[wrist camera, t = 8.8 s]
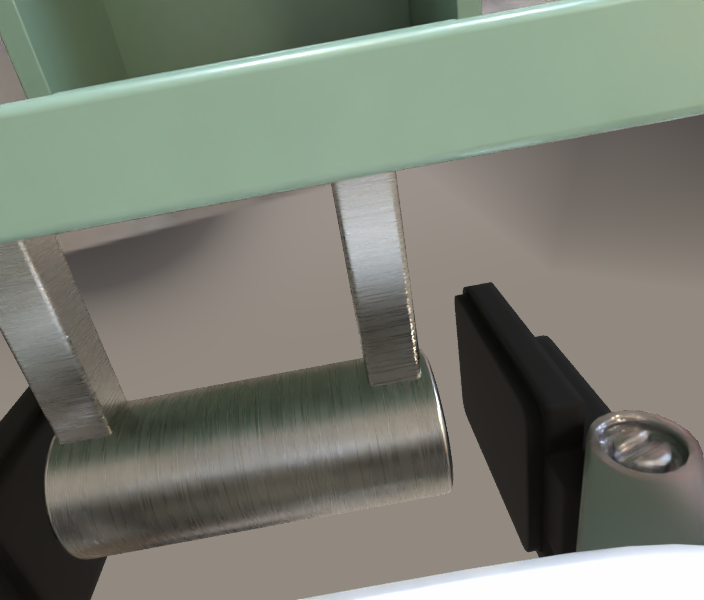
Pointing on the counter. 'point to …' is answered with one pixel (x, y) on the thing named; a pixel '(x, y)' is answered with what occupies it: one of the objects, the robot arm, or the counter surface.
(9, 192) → the bin lid
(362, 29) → the bin
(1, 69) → the counter surface
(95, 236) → the counter surface
